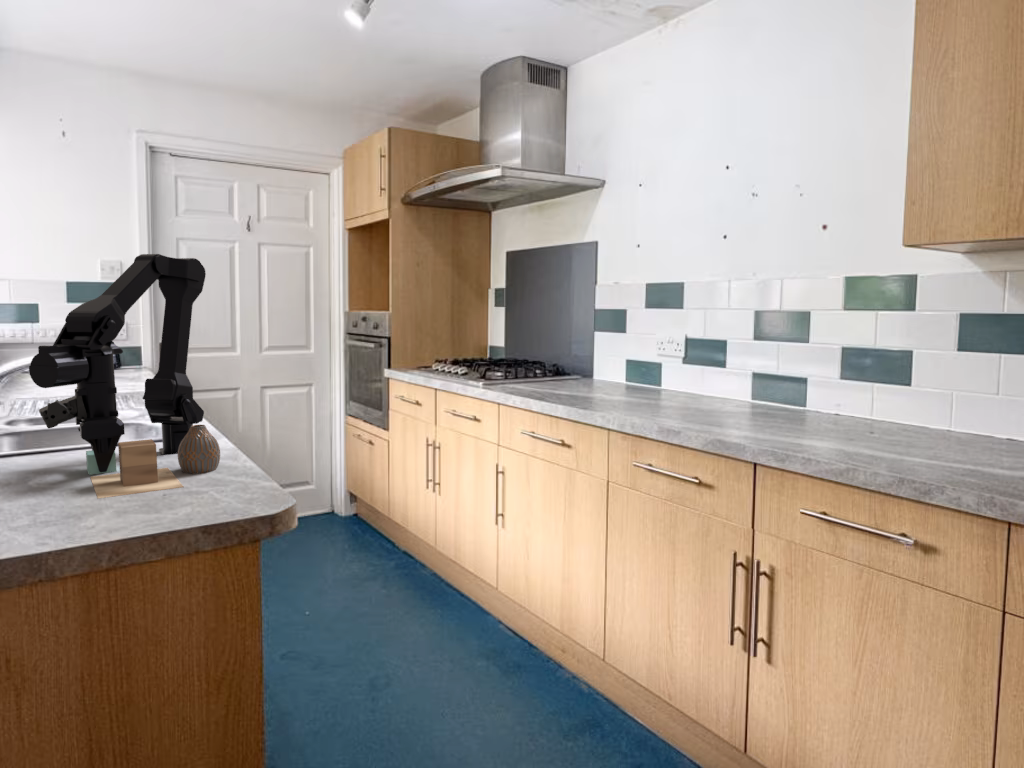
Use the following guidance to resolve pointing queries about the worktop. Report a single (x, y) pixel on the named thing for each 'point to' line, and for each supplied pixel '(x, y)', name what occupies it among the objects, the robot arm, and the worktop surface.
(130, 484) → the tower base
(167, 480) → the beech board
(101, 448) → the robot arm
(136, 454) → the tower top
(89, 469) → the cube
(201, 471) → the vase
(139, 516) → the worktop surface
